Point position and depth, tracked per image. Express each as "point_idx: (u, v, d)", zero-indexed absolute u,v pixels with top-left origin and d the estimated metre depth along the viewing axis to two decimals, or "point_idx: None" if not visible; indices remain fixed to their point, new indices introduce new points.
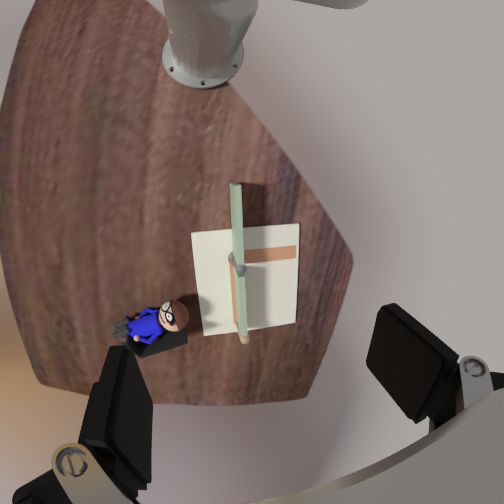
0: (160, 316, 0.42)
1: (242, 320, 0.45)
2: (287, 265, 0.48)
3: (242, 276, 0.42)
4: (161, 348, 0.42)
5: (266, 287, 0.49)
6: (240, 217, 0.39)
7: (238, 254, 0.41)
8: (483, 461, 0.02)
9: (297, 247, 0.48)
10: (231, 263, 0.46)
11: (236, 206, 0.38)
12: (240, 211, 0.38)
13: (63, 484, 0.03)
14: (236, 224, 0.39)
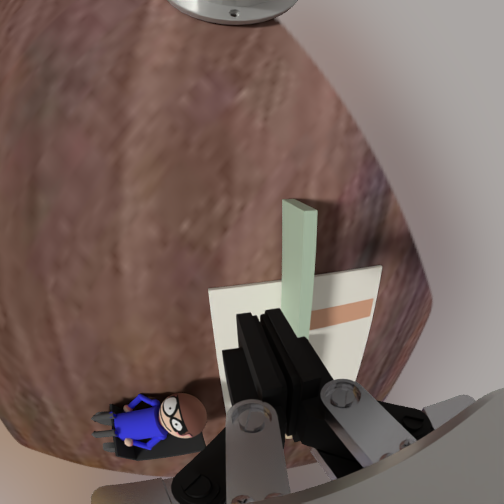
0: (162, 420, 0.23)
1: None
2: (357, 327, 0.29)
3: None
4: (167, 454, 0.23)
5: (323, 359, 0.30)
6: (310, 273, 0.19)
7: (299, 335, 0.21)
8: (483, 461, 0.02)
9: (374, 301, 0.28)
10: None
11: (305, 252, 0.19)
12: (312, 262, 0.19)
13: (226, 433, 0.05)
14: (302, 286, 0.20)
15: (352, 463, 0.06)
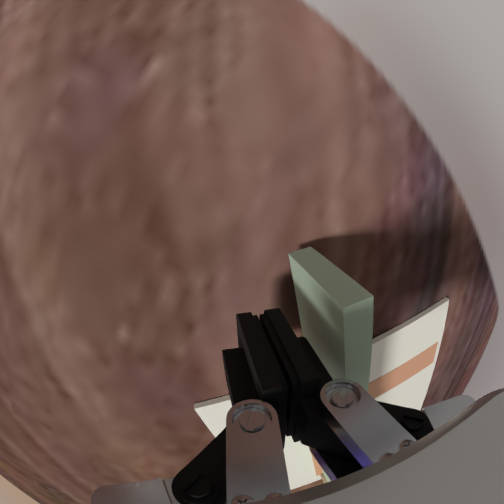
0: None
1: None
2: (417, 380, 0.18)
3: None
4: None
5: None
6: None
7: None
8: (483, 461, 0.02)
9: (439, 343, 0.17)
10: None
11: (350, 376, 0.08)
12: (363, 383, 0.08)
13: (227, 433, 0.05)
14: None
15: (351, 463, 0.06)
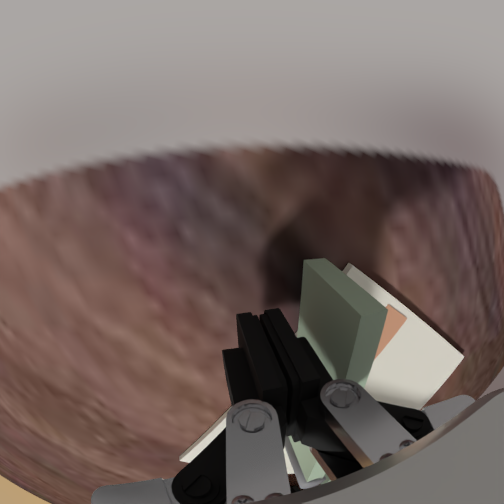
0: None
1: None
2: (400, 342, 0.15)
3: (328, 478, 0.12)
4: None
5: (388, 393, 0.17)
6: None
7: (315, 470, 0.10)
8: (483, 461, 0.02)
9: (394, 302, 0.14)
10: None
11: None
12: None
13: (226, 433, 0.05)
14: None
15: (351, 463, 0.06)
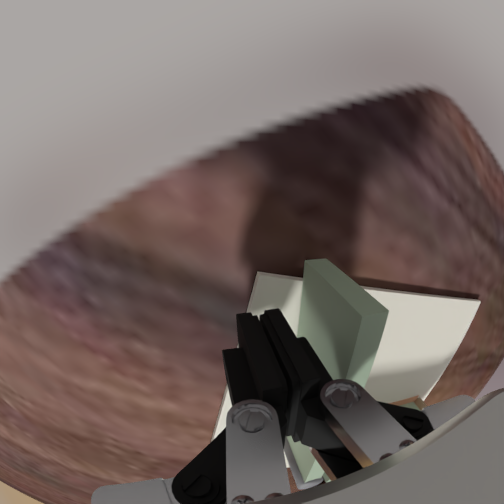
0: None
1: None
2: None
3: None
4: None
5: (390, 371, 0.16)
6: None
7: (313, 470, 0.10)
8: (483, 461, 0.02)
9: None
10: None
11: None
12: None
13: (227, 433, 0.05)
14: None
15: (351, 463, 0.06)
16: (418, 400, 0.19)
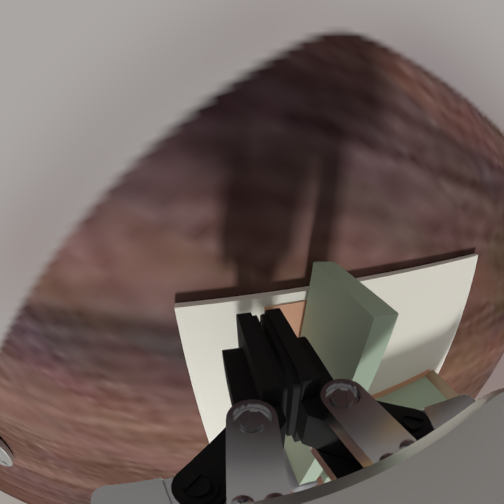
0: None
1: None
2: None
3: (324, 476, 0.12)
4: None
5: None
6: None
7: (309, 473, 0.10)
8: (483, 462, 0.02)
9: (273, 300, 0.12)
10: None
11: None
12: None
13: (226, 433, 0.05)
14: None
15: (352, 463, 0.06)
16: (430, 374, 0.17)
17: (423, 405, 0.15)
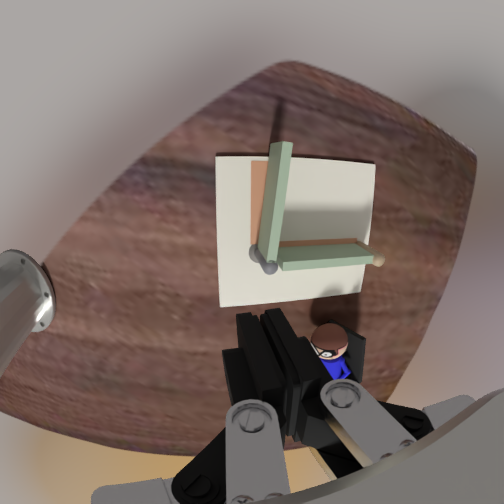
0: (323, 358, 0.34)
1: (349, 263, 0.30)
2: None
3: (282, 264, 0.28)
4: (359, 363, 0.35)
5: (312, 208, 0.32)
6: (283, 189, 0.26)
7: (270, 244, 0.27)
8: (483, 462, 0.02)
9: (255, 158, 0.29)
10: None
11: (281, 172, 0.25)
12: (285, 180, 0.25)
13: (226, 433, 0.05)
14: (276, 199, 0.26)
15: (352, 463, 0.06)
16: (358, 241, 0.34)
17: (350, 250, 0.32)
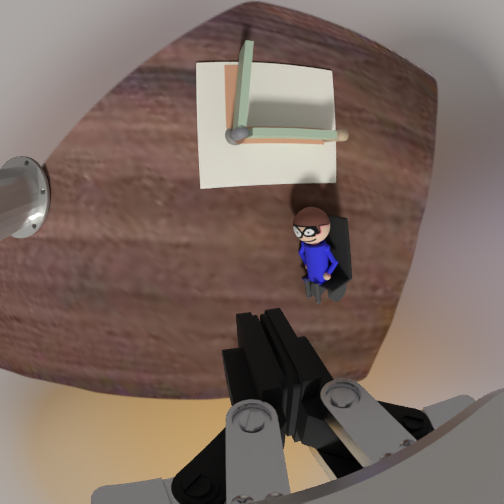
0: (307, 241, 0.37)
1: (314, 135, 0.32)
2: (251, 74, 0.32)
3: (252, 130, 0.30)
4: (346, 251, 0.37)
5: (279, 101, 0.34)
6: (248, 71, 0.27)
7: (240, 112, 0.29)
8: (483, 461, 0.02)
9: (227, 63, 0.31)
10: (242, 141, 0.35)
11: (245, 59, 0.27)
12: (249, 65, 0.27)
13: (226, 433, 0.05)
14: (242, 78, 0.28)
15: (352, 463, 0.06)
16: None
17: None
